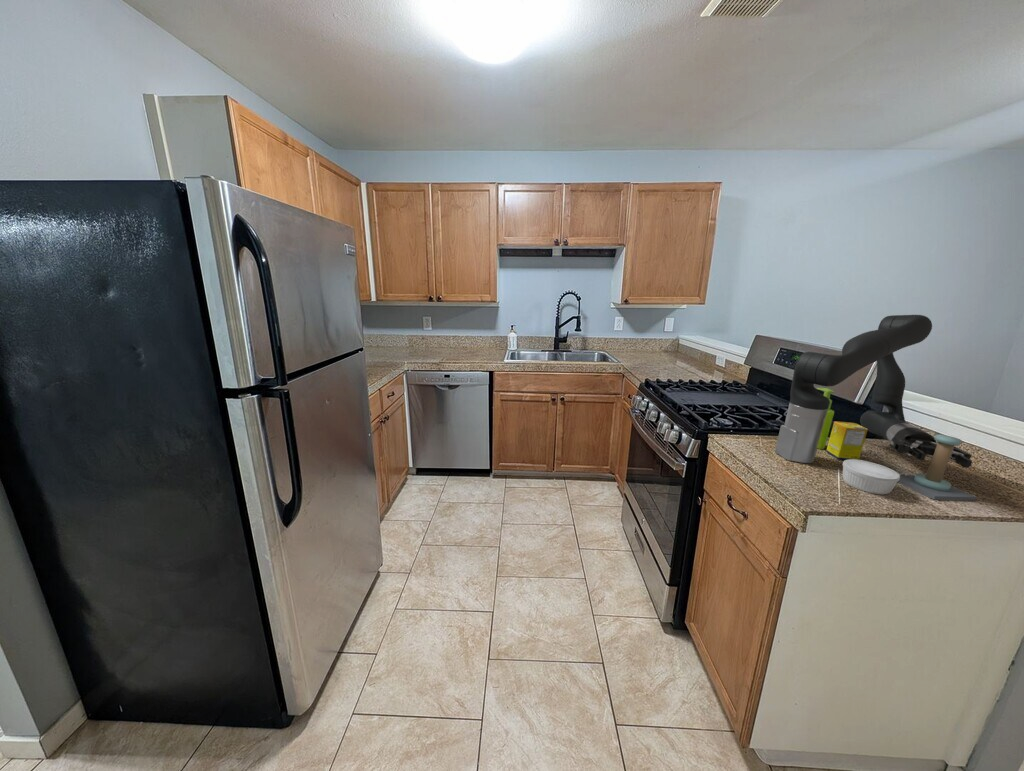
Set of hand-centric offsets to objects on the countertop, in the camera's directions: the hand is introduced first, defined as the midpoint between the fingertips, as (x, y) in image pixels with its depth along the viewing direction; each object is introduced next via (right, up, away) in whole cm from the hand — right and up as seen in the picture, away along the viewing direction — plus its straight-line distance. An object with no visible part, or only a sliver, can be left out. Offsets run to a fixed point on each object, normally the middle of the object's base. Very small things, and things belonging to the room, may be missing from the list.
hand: (945, 460), depth 94 cm
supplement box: (-7, -3, +22) cm, 23 cm away
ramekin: (-17, -8, +4) cm, 19 cm away
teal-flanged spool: (0, -7, +4) cm, 8 cm away
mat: (0, -8, +4) cm, 9 cm away
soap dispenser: (-9, -1, +31) cm, 32 cm away
